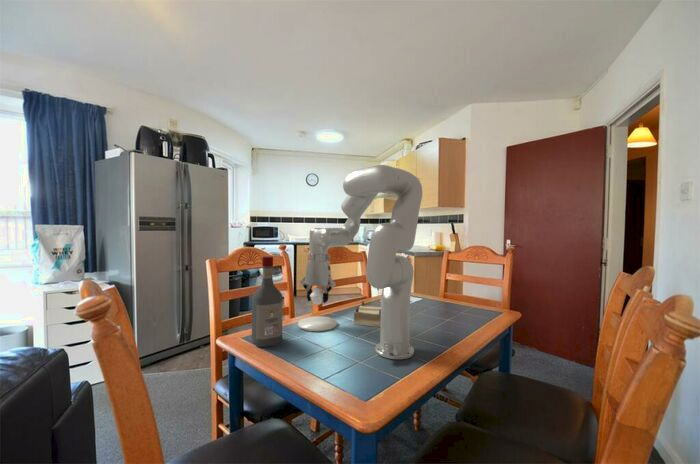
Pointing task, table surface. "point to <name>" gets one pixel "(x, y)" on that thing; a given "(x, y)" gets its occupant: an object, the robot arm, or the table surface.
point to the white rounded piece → (317, 296)
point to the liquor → (267, 309)
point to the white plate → (317, 323)
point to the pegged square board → (367, 315)
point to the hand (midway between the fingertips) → (317, 300)
